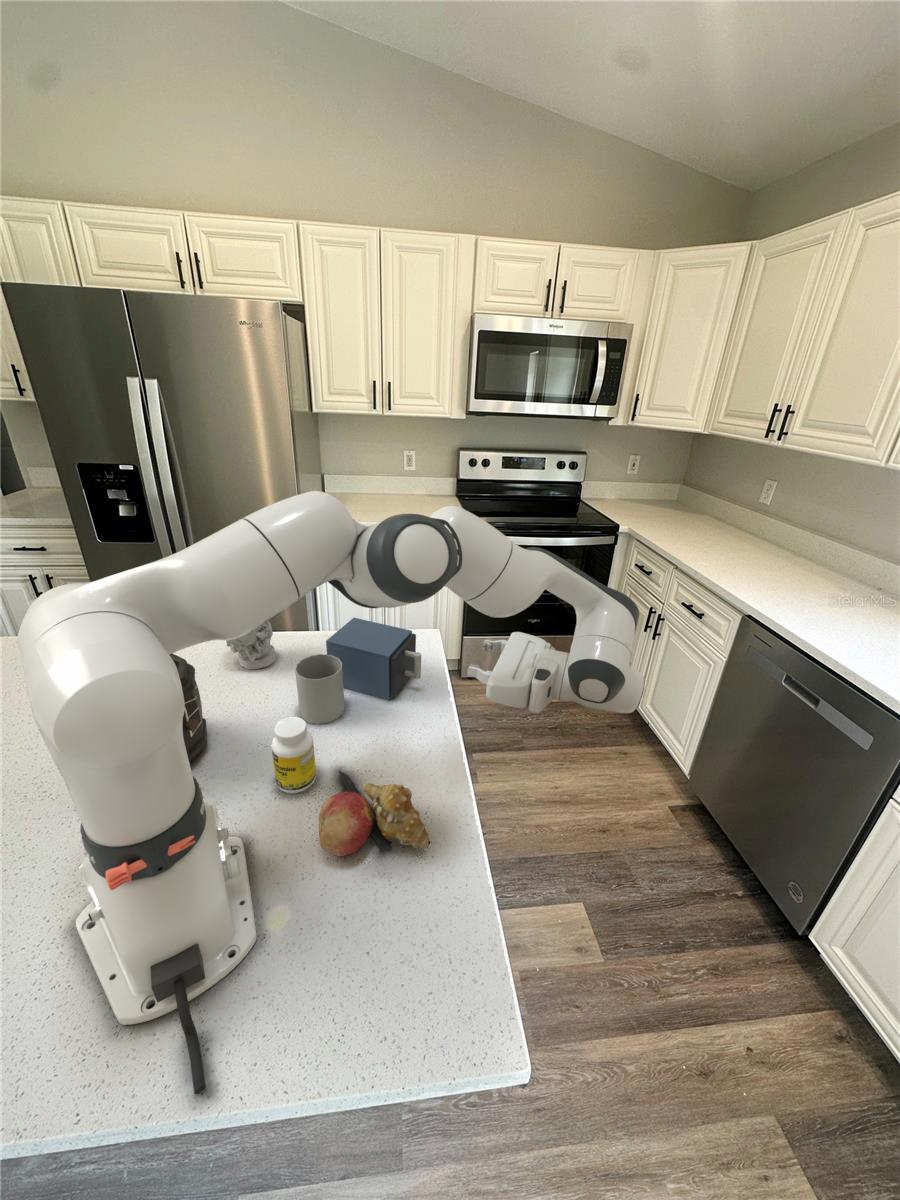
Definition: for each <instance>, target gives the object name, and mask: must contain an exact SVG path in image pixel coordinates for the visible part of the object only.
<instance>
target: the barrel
mask: <svg viewBox="0 0 900 1200" xmlns="http://www.w3.org/2000/svg"><path fill="white" fill-rule="evenodd" d="M170 657H171V658H172V660H173V661H174V663H175V665H176V668H177V671H178V674H179V678H180V681H181V685H182V691H183V696H184V702H185V708H184V715H183V738H184V743H185V747H186V751H187V755H188V760H189V764H190V765H191V764H192V763H193V762H195V760H196V759H197V758H198V757H199V755H200V754H201V753H202V752H203V748H204V746H206V744H207V719H206V718H204V717H203V705H202V704H203V703H202V699H201V693H200V689H199V686H198V684H197V681H196V668H195V667H194V665H193V664H190V663H189V662H187V659H186V658H183V657H181V656H179V655H177V654H174V653H172V654H170Z"/></svg>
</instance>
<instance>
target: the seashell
mask: <svg viewBox="0 0 900 1200" xmlns="http://www.w3.org/2000/svg"><path fill="white" fill-rule="evenodd" d="M362 789H363V792H364V793H365V794H366V795H367V797H368V798H369V799H370V800H371V801H372V807H373V809H374V812H375V819H376V820H377V824H378V828H379V829H380V830H381V832H382V834H383V835H384V836H385V838H386V839H389V840H390V839H395V840H396V841H397V842H398V843H400V844H401V845H403V846H410V847H412V848H414V849H419V850H422V851H426V850H428V849H429V848H430V847H431V836H430V834H429V833H428V831H427V827H426V824H425V823H424V822H423V821H422V819H421V816H420V814H421V813H420V810H418V809H416V808H415V807H414V805H413V803H412V796H413V792H412V790H411V789H409V788H407V787H405V786H404V785H403V784H401V783H399V784H397V783H390V784H389V783H387V784H382V785H377V784H374V783H372V782H370V781H366V782H365V783H364V784H363V786H362Z"/></svg>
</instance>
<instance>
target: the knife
mask: <svg viewBox="0 0 900 1200" xmlns="http://www.w3.org/2000/svg"><path fill="white" fill-rule="evenodd" d="M349 775H350V774H347V773H346V772H343V771H342V770H340V769H338V776H339V781H340V785H341V787H342V788H343V791H344V790H345V791H344V792H356V793H359V794H360V795H362V793H361V792H360V790H359V789H358V787H357V786H356V784H355V783H354V781H353V779H352V778H351V776H349ZM371 808H372V811H373V812H375V810H374V809H373V806H372V807H371ZM373 816H374V814H373ZM376 819H377V818H376V816H374V824H373V827H372V829H371V832H370V835H371V837H372V838H373V840H374V841H375V843H376V845H377V846H378V848H379V850H380V851H382V852H386V851H391V850H392V849H393V846H392V845H393V841H392V840H390V839H386V838H385V836H384V835H383V834H382V832H381V830H380V829H379V828H378V824H377V820H376Z"/></svg>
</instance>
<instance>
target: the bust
mask: <svg viewBox="0 0 900 1200" xmlns="http://www.w3.org/2000/svg"><path fill="white" fill-rule="evenodd" d="M301 599H302V598H300V599H299V600H297V601H296V602H294V603H293V604H292V605H290V606H288V607H287V610H289V609H290V608H291V607H292V606H294V605H295V604H296V603H297V602H298V601H300V600H301ZM285 612H286V610H283V611H282V613H281V615H282V614H284V613H285ZM279 617H280V615H278V616H277V617H276V618H275V619H273V620H272V621H270V619H268V620H267V621H265V622H264V623H262V624H261V625H259V626H258V627H256V628H255V629H253V630H252V631H250V632H249V633H247V634H246V635H244V636H242V637H239V638H237V639H232V640H225V643H226V647H229V648H230V652H232V653H234V654H236V653H238V661H239V665H240V666H241V667H242V668H245V669H250V670H258V669H259V670H260V669H264V668H266V667H269V666H271V665H273V663H274V662H275V661H276V658H277V657H276V649H275V647H274V646H273V645H272V644H271V639H272V637H273V634H274V633H273V632H274V631H273V628H272V627H273V626H272V623H273V622H274V621H275V620H277V619H278V618H279Z"/></svg>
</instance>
